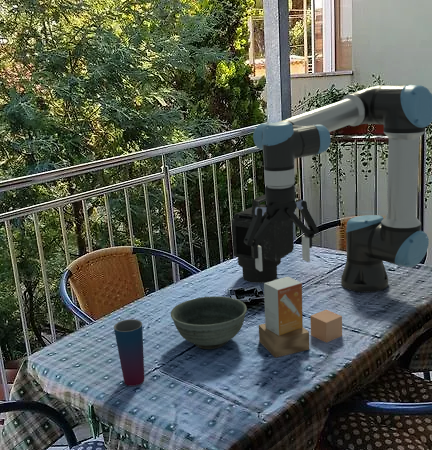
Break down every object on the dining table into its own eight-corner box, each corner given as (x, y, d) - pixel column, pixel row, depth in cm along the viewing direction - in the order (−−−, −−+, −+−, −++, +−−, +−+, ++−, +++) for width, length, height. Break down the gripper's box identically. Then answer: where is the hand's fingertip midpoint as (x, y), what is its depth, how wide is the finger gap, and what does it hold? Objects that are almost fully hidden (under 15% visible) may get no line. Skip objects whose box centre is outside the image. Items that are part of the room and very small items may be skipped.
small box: (279, 336, 153) (277, 290, 149) (264, 328, 158) (262, 282, 154) (303, 328, 157) (302, 282, 153) (288, 320, 162) (287, 275, 158)
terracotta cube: (326, 329, 166) (326, 309, 165) (342, 336, 162) (342, 316, 160) (310, 335, 163) (310, 315, 162) (326, 343, 158) (326, 322, 157)
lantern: (253, 266, 219) (249, 188, 211) (296, 274, 209) (293, 192, 201) (230, 280, 207) (225, 197, 199) (274, 289, 197) (271, 202, 189)
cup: (121, 375, 149) (114, 320, 145) (148, 372, 149) (142, 318, 145) (119, 389, 142) (112, 332, 138) (147, 386, 143) (141, 330, 139)
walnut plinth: (292, 334, 165) (291, 317, 163) (309, 349, 155) (309, 332, 154) (259, 341, 161) (258, 324, 160) (275, 357, 152) (274, 340, 151)
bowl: (193, 368, 150) (190, 332, 147) (161, 337, 168) (158, 305, 165) (262, 346, 159) (261, 312, 156) (225, 319, 177) (223, 288, 174)
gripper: (316, 176, 155) (317, 252, 161) (228, 189, 147) (233, 269, 153) (331, 181, 148) (332, 260, 154) (239, 195, 140) (244, 278, 146)
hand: (282, 265), depth 153 cm, fingers open, 13 cm apart
